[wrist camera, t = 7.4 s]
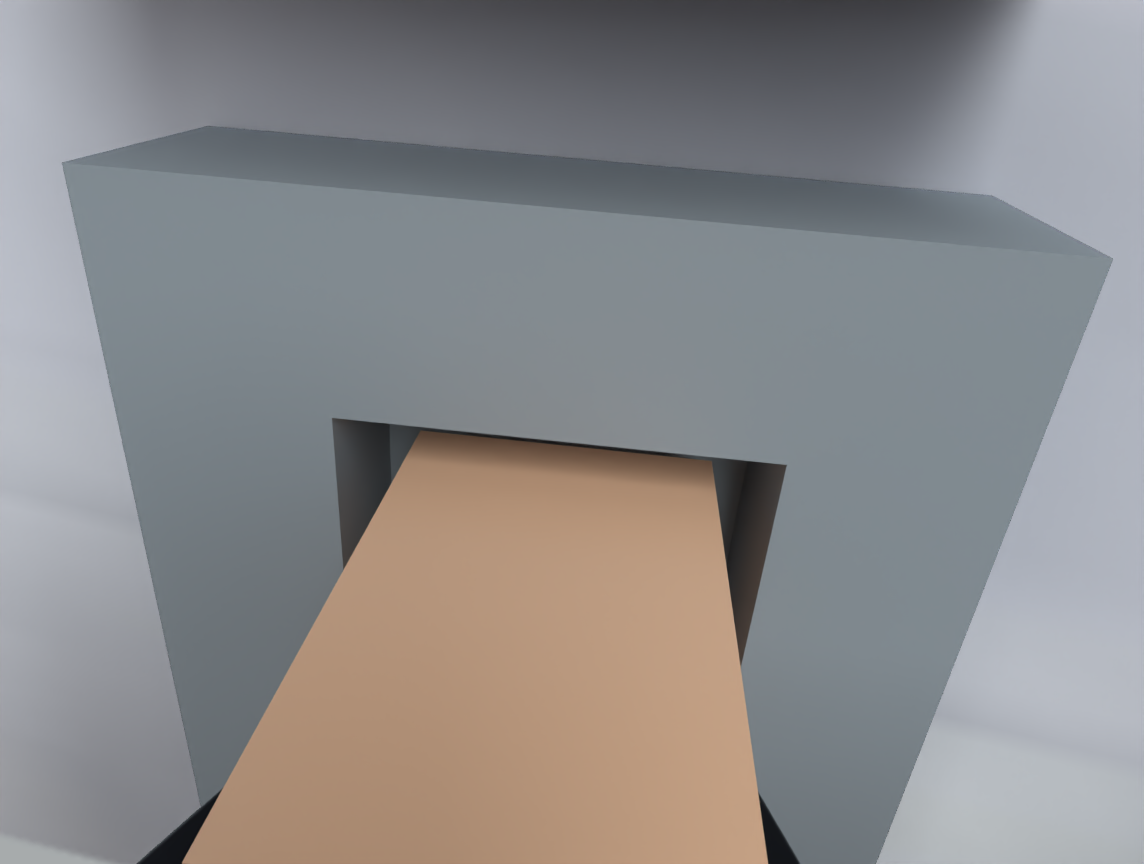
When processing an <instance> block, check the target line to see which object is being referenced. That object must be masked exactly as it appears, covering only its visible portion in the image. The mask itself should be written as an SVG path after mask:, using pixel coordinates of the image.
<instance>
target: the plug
mask: <svg viewBox="0 0 1144 864" xmlns="http://www.w3.org/2000/svg"><path fill="white" fill-rule="evenodd" d="M182 864H768V859H767V852H766V845H765V838H764V831H763V824H762V816H761V809H760V802H759V795H758V788H757V781H756V774H755V766H754V759H753V752H752V745H751V738H750V731H749V724H748V716H747V709H746V702H745V695H744V688H743V681H742V674H741V666H740V659H739V652H738V645H737V638H736V631H735V624H734V617H733V609H732V602H731V595H730V588H729V581H728V574H727V567H726V559H725V552H724V545H723V538H722V531H721V524H720V517H719V509H718V502H717V495H716V488H715V481H714V474H713V467H712V461H707V460H698V459H688V458H678V457H669V456H659V455H650V454H640V453H631V452H621V451H612V450H602V449H593V448H583V447H573V446H564V445H554V444H545V443H535V442H526V441H516V440H507V439H497V438H488V437H478V436H468V435H459V434H449V433H440V432H430V431H420V432H419V434H418V436H417V438H416V440H415V441H414V443H413V445H412V447H411V449H410V450H409V452H408V454H407V456H406V458H405V460H404V461H403V463H402V465H401V467H400V469H399V470H398V472H397V474H396V476H395V478H394V479H393V481H392V483H391V485H390V487H389V489H388V490H387V492H386V494H385V496H384V498H383V499H382V501H381V503H380V505H379V507H378V508H377V510H376V512H375V514H374V516H373V518H372V519H371V521H370V523H369V525H368V527H367V528H366V530H365V532H364V534H363V536H362V537H361V539H360V541H359V543H358V545H357V546H356V548H355V550H354V552H353V554H352V556H351V557H350V559H349V561H348V563H347V565H346V566H345V568H344V570H343V572H342V574H341V575H340V577H339V579H338V581H337V583H336V585H335V586H334V588H333V590H332V592H331V594H330V595H329V597H328V599H327V601H326V603H325V604H324V606H323V608H322V610H321V612H320V614H319V615H318V617H317V619H316V621H315V623H314V624H313V626H312V628H311V630H310V632H309V633H308V635H307V637H306V639H305V641H304V643H303V644H302V646H301V648H300V650H299V652H298V653H297V655H296V657H295V659H294V661H293V662H292V664H291V666H290V668H289V670H288V671H287V673H286V675H285V677H284V679H283V681H282V682H281V684H280V686H279V688H278V690H277V691H276V693H275V695H274V697H273V699H272V700H271V702H270V704H269V706H268V708H267V710H266V711H265V713H264V715H263V717H262V719H261V720H260V722H259V724H258V726H257V728H256V729H255V731H254V733H253V735H252V737H251V739H250V740H249V742H248V744H247V746H246V748H245V749H244V751H243V753H242V755H241V757H240V758H239V760H238V762H237V764H236V766H235V768H234V769H233V771H232V773H231V775H230V777H229V778H228V780H227V782H226V784H225V786H224V787H223V789H222V791H221V793H220V795H219V796H218V798H217V800H216V802H215V804H214V806H213V807H212V809H211V811H210V813H209V815H208V816H207V818H206V820H205V822H204V824H203V825H202V827H201V829H200V831H199V833H198V835H197V836H196V838H195V840H194V842H193V844H192V845H191V847H190V849H189V851H188V853H187V854H186V856H185V858H184V860H183V862H182Z"/></svg>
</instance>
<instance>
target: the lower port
mask: <svg viewBox="0 0 1144 864" xmlns="http://www.w3.org/2000/svg"><path fill="white" fill-rule="evenodd" d="M62 165H63V170H64V174H65V179H66V184H67V188H68V193H69V198H70V202H71V207H72V212H73V216H74V221H75V225H76V230H77V235H78V239H79V244H80V249H81V253H82V258H83V262H84V267H85V272H86V276H87V281H88V286H89V290H90V295H91V299H92V304H93V309H94V313H95V318H96V323H97V327H98V332H99V336H100V341H101V346H102V350H103V355H104V360H105V364H106V369H107V374H108V378H109V383H110V387H111V392H112V397H113V401H114V406H115V411H116V415H117V420H118V424H119V429H120V434H121V438H122V443H123V448H124V452H125V457H126V461H127V466H128V471H129V475H130V480H131V485H132V489H133V494H134V499H135V503H136V508H137V512H138V517H139V522H140V526H141V531H142V536H143V540H144V545H145V549H146V554H147V559H148V563H149V568H150V573H151V577H152V582H153V586H154V591H155V596H156V600H157V605H158V610H159V614H160V619H161V623H162V628H163V633H164V637H165V642H166V647H167V651H168V656H169V661H170V665H171V670H172V674H173V679H174V684H175V688H176V693H177V698H178V702H179V707H180V711H181V716H182V721H183V725H184V730H185V735H186V739H187V744H188V748H189V753H190V758H191V762H192V767H193V772H194V776H195V781H196V785H197V790H198V795H199V799H200V804H201V807H202V806H203V805H204V804H205V803H206V802H207V801H208V800H210V799H211V798H212V797H213V796H214V795H215V794H216V793H217V792H219V791H220V790H221V789H222V788H223V787H224V786H225V784H226V782H227V780H228V778H229V777H230V775H231V773H232V771H233V769H234V768H235V766H236V764H237V762H238V760H239V758H240V757H241V755H242V753H243V751H244V749H245V748H246V746H247V744H248V742H249V740H250V739H251V737H252V735H253V733H254V731H255V729H256V728H257V726H258V724H259V722H260V720H261V719H262V717H263V715H264V713H265V711H266V710H267V708H268V706H269V704H270V702H271V700H272V699H273V697H274V695H275V693H276V691H277V690H278V688H279V686H280V684H281V682H282V681H283V679H284V677H285V675H286V673H287V671H288V670H289V668H290V666H291V664H292V662H293V661H294V659H295V657H296V655H297V653H298V652H299V650H300V648H301V646H302V644H303V643H304V641H305V639H306V637H307V635H308V633H309V632H310V630H311V628H312V626H313V624H314V623H315V621H316V619H317V617H318V615H319V614H320V612H321V610H322V608H323V606H324V604H325V603H326V601H327V599H328V597H329V595H330V594H331V592H332V590H333V588H334V586H335V585H336V583H337V581H338V579H339V577H340V575H341V574H342V572H343V570H344V568H345V566H346V565H347V563H348V561H349V559H350V557H351V556H352V554H353V552H354V550H355V548H356V546H357V545H358V543H359V541H360V539H361V537H362V536H363V534H364V532H365V530H366V528H367V527H368V525H369V523H370V521H371V519H372V518H373V516H374V514H375V512H376V510H377V508H378V507H379V505H380V503H381V501H382V499H383V498H384V496H385V494H386V492H387V490H388V489H389V487H390V485H391V483H392V481H393V479H394V478H395V476H396V474H397V472H398V470H399V469H400V467H401V465H402V463H403V461H404V460H405V458H406V456H407V454H408V452H409V450H410V449H411V447H412V445H413V443H414V441H415V440H416V438H417V436H418V434H419V432H420V431H430V432H440V433H449V434H459V435H468V436H478V437H488V438H497V439H507V440H516V441H526V442H535V443H545V444H554V445H564V446H573V447H583V448H593V449H602V450H612V451H621V452H631V453H640V454H650V455H659V456H669V457H678V458H688V459H698V460H707V461H712V467H713V474H714V481H715V488H716V495H717V502H718V509H719V517H720V524H721V531H722V538H723V545H724V552H725V559H726V567H727V574H728V581H729V588H730V595H731V602H732V609H733V617H734V624H735V631H736V638H737V645H738V652H739V659H740V666H741V674H742V681H743V688H744V695H745V702H746V709H747V716H748V724H749V731H750V738H751V745H752V752H753V759H754V766H755V774H756V781H757V788H758V792H759V794H760V795H761V797H762V799H763V801H764V802H765V804H766V806H767V807H768V809H769V811H770V813H771V814H772V816H773V818H774V819H775V821H776V823H777V824H778V826H779V828H780V830H781V831H782V833H783V835H784V836H785V838H786V840H787V841H788V843H789V845H790V847H791V848H792V850H793V852H794V853H795V855H796V857H797V858H798V860H799V862H800V864H876V862H877V860H878V857H879V854H880V852H881V849H882V847H883V844H884V842H885V839H886V837H887V834H888V832H889V829H890V826H891V824H892V821H893V819H894V816H895V814H896V811H897V809H898V806H899V804H900V801H901V798H902V796H903V793H904V791H905V788H906V786H907V783H908V781H909V778H910V775H911V773H912V770H913V768H914V765H915V763H916V760H917V758H918V755H919V753H920V750H921V747H922V745H923V742H924V740H925V737H926V735H927V732H928V730H929V727H930V725H931V722H932V719H933V717H934V714H935V712H936V709H937V707H938V704H939V702H940V699H941V696H942V694H943V691H944V689H945V686H946V684H947V681H948V679H949V676H950V674H951V671H952V668H953V666H954V663H955V661H956V658H957V656H958V653H959V651H960V648H961V646H962V643H963V640H964V638H965V635H966V633H967V630H968V628H969V625H970V623H971V620H972V617H973V615H974V612H975V610H976V607H977V605H978V602H979V600H980V597H981V595H982V592H983V589H984V587H985V584H986V582H987V579H988V577H989V574H990V572H991V569H992V567H993V564H994V561H995V559H996V556H997V554H998V551H999V549H1000V546H1001V544H1002V541H1003V538H1004V536H1005V533H1006V531H1007V528H1008V526H1009V523H1010V521H1011V518H1012V516H1013V513H1014V510H1015V508H1016V505H1017V503H1018V500H1019V498H1020V495H1021V493H1022V490H1023V488H1024V485H1025V482H1026V480H1027V477H1028V475H1029V472H1030V470H1031V467H1032V465H1033V462H1034V459H1035V457H1036V454H1037V452H1038V449H1039V447H1040V444H1041V442H1042V439H1043V437H1044V434H1045V431H1046V429H1047V426H1048V424H1049V421H1050V419H1051V416H1052V414H1053V411H1054V409H1055V406H1056V403H1057V401H1058V398H1059V396H1060V393H1061V391H1062V388H1063V386H1064V383H1065V380H1066V378H1067V375H1068V373H1069V370H1070V368H1071V365H1072V363H1073V360H1074V358H1075V355H1076V352H1077V350H1078V347H1079V345H1080V342H1081V340H1082V337H1083V335H1084V332H1085V330H1086V327H1087V324H1088V322H1089V319H1090V317H1091V314H1092V312H1093V309H1094V307H1095V304H1096V301H1097V299H1098V296H1099V294H1100V291H1101V289H1102V286H1103V284H1104V281H1105V279H1106V276H1107V273H1108V271H1109V268H1110V266H1111V263H1112V261H1113V258H1111V257H1109V256H1107V255H1105V254H1103V253H1101V252H1099V251H1097V250H1096V249H1094V248H1092V247H1090V246H1088V245H1086V244H1084V243H1082V242H1080V241H1078V240H1076V239H1074V238H1073V237H1071V236H1069V235H1067V234H1065V233H1063V232H1061V231H1059V230H1057V229H1055V228H1053V227H1052V226H1050V225H1048V224H1046V223H1044V222H1042V221H1040V220H1038V219H1036V218H1034V217H1032V216H1030V215H1029V214H1027V213H1025V212H1023V211H1021V210H1019V209H1017V208H1015V207H1013V206H1011V205H1009V204H1007V203H1006V202H1004V201H1002V200H1000V199H998V198H996V197H994V196H989V195H978V194H967V193H956V192H944V191H933V190H922V189H911V188H899V187H888V186H877V185H866V184H854V183H843V182H832V181H821V180H809V179H798V178H787V177H776V176H764V175H753V174H742V173H730V172H719V171H708V170H697V169H685V168H674V167H663V166H652V165H640V164H629V163H618V162H607V161H595V160H584V159H573V158H562V157H550V156H539V155H528V154H517V153H505V152H494V151H483V150H472V149H460V148H449V147H438V146H427V145H415V144H404V143H393V142H382V141H370V140H359V139H348V138H337V137H325V136H314V135H303V134H292V133H280V132H269V131H258V130H247V129H235V128H224V127H213V126H206V127H202V128H198V129H194V130H190V131H186V132H182V133H178V134H174V135H170V136H166V137H162V138H158V139H154V140H150V141H146V142H142V143H138V144H134V145H130V146H126V147H122V148H118V149H114V150H110V151H106V152H102V153H98V154H94V155H90V156H86V157H82V158H78V159H74V160H70V161H66V162H62Z"/></svg>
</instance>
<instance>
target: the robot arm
mask: <svg viewBox="0 0 1144 864" xmlns="http://www.w3.org/2000/svg"><path fill="white" fill-rule="evenodd" d="M222 789H223V788H222ZM222 789H221V790H220V791H219V792H217V793H216V794H215V795H214V796H213V797H212V798H211V799H210V800H208V801H207V802H206V803H205V804H204V805H203V806H202V807H200V808H199V809H198V810H197V811H196V812H195V813H194V814H192V815H191V816H190V817H189V818H188V819H187V820H186V821H185V822H183V823H182V824H181V825H180V826H179V827H178V828H177V829H175V830H174V831H173V832H172V833H171V834H170V835H169V836H168V837H166V838H165V839H164V840H163V841H162V842H161V843H160V844H158V845H157V846H156V847H155V848H154V849H153V850H152V851H150V852H149V853H148V854H147V855H146V856H145V857H144V858H143V859H141V860H140V861H139V862H138V863H137V864H182V862H183V860H184V858H185V856H186V854H187V853H188V851H189V849H190V847H191V845H192V844H193V842H194V840H195V838H196V836H197V835H198V833H199V831H200V829H201V827H202V825H203V824H204V822H205V820H206V818H207V816H208V815H209V813H210V811H211V809H212V807H213V806H214V804H215V802H216V800H217V798H218V796H219V795H220V793H221V791H222ZM758 795H759V802H760V809H761V816H762V824H763V831H764V838H765V845H766V852H767V859H768V864H800V862H799V860H798V858H797V857H796V855H795V853H794V852H793V850H792V848H791V847H790V845H789V843H788V841H787V840H786V838H785V836H784V835H783V833H782V831H781V830H780V828H779V826H778V824H777V823H776V821H775V819H774V818H773V816H772V814H771V813H770V811H769V809H768V807H767V806H766V804H765V802H764V801H763V799H762V797H761V795H760V794H759V792H758Z"/></svg>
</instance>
